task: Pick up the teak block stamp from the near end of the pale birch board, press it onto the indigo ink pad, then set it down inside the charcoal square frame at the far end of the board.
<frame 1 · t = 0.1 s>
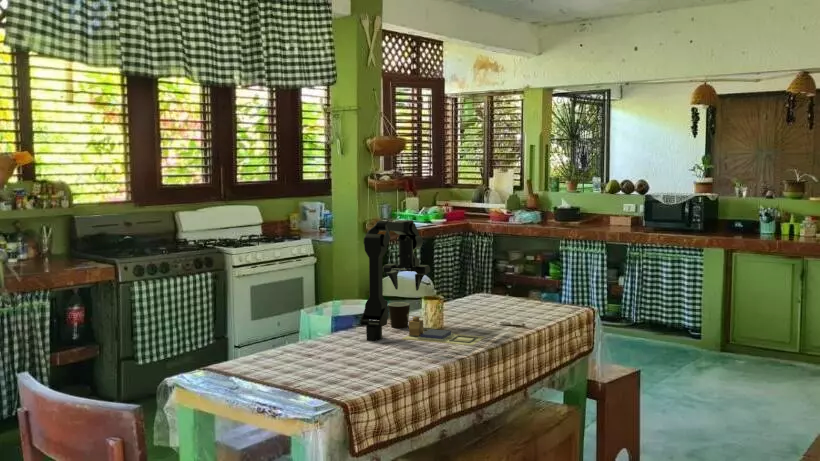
hand: (406, 289, 305), 15 cm above the table, fingers open, 9 cm apart
station board: (443, 340, 280), on the table
stamp: (416, 335, 285), point 1 cm above the table, touching station board
ink pad: (435, 337, 282), resting on station board
coffee mug: (402, 328, 302), on the table
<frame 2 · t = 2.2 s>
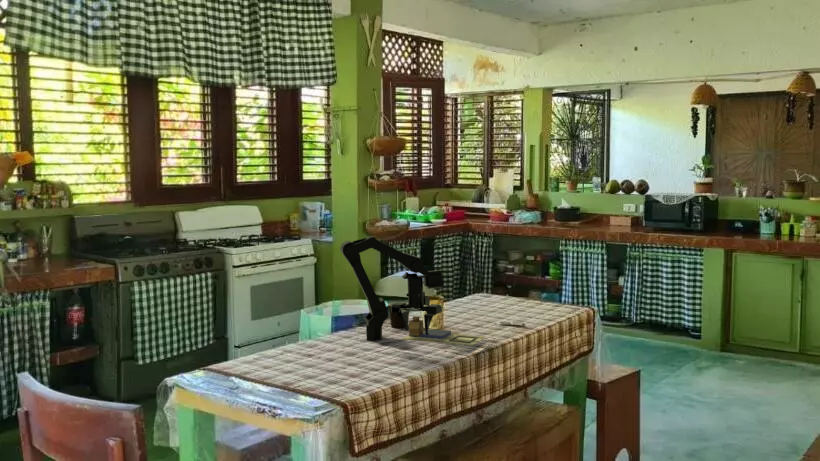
hand: (417, 331, 285), 3 cm above the table, fingers open, 8 cm apart
nothing on the table moved.
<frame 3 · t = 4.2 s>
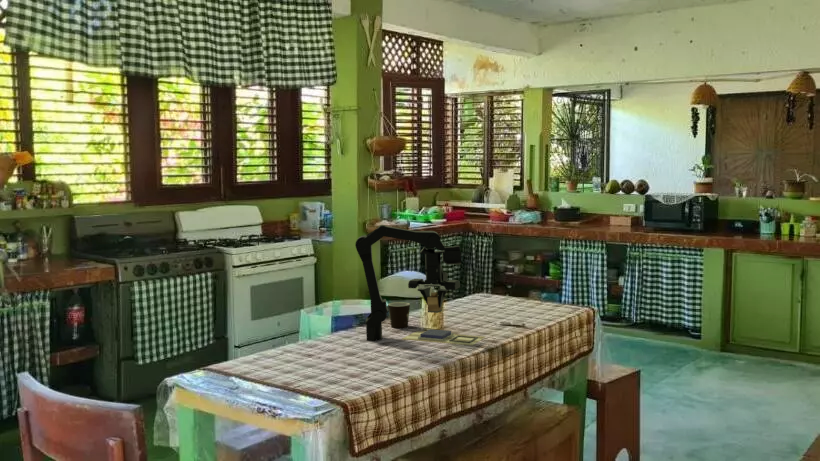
hand: (434, 307, 281), 12 cm above the table, fingers closed on stamp, 4 cm apart
stamp: (434, 311, 281), point 11 cm above the table, touching gripper
everything else where it was.
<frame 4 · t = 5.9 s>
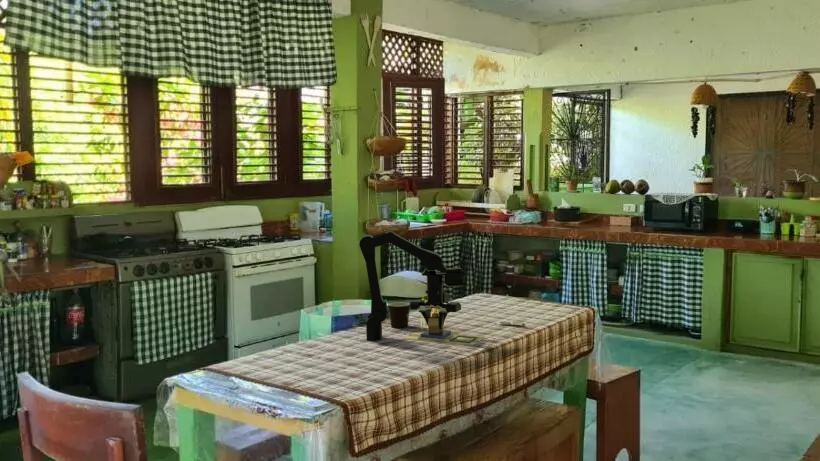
hand: (435, 328, 281), 4 cm above the table, fingers closed on stamp, 4 cm apart
stamp: (435, 332, 281), point 3 cm above the table, touching gripper, ink pad
everything else where it was.
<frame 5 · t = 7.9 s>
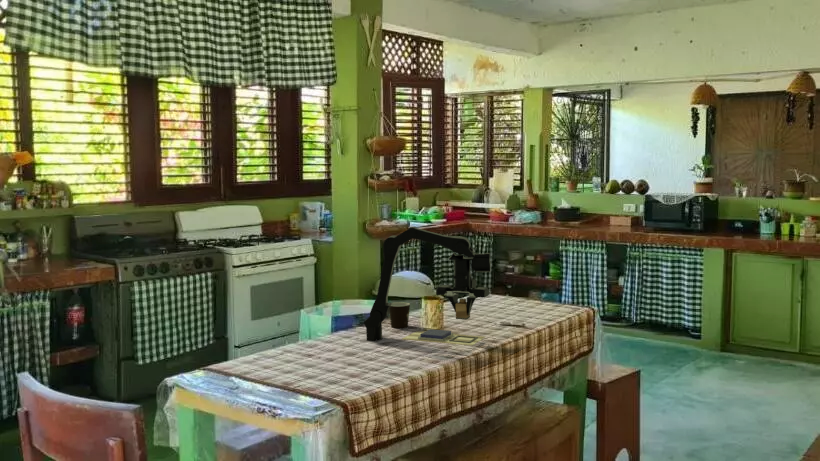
hand: (462, 314, 276), 10 cm above the table, fingers closed on stamp, 4 cm apart
stamp: (463, 318, 276), point 9 cm above the table, touching gripper
everything else where it was.
when the fingers open (3 cm above the table, at t = 9.4 s): stamp stays where it is, resting on station board.
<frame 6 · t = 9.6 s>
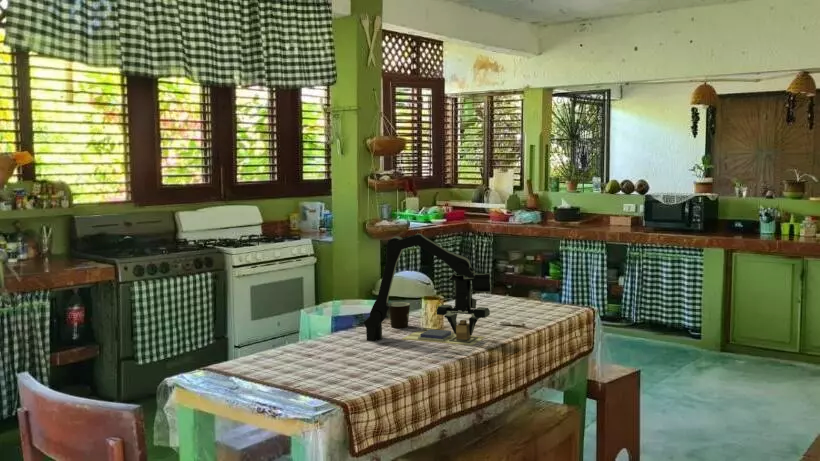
hand: (463, 334, 277), 3 cm above the table, fingers open, 6 cm apart
stamp: (463, 339, 277), point 1 cm above the table, touching station board
everything else where it was.
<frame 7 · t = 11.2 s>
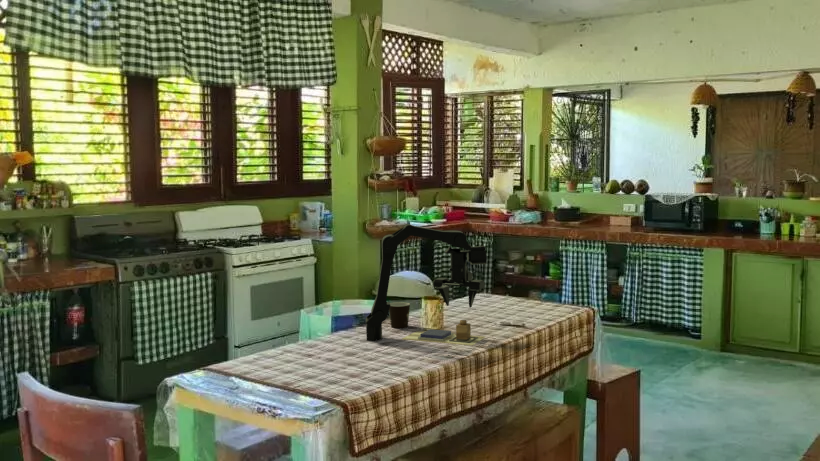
hand: (459, 306, 283), 12 cm above the table, fingers open, 9 cm apart
nothing on the table moved.
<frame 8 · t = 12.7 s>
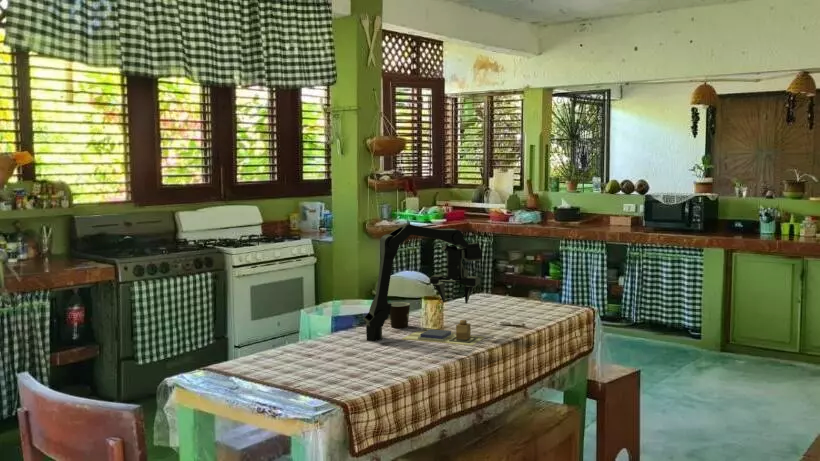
hand: (455, 302, 290), 12 cm above the table, fingers open, 9 cm apart
nothing on the table moved.
at the end: stamp 0.1 cm from the target spot on the station board, point 1.0 cm above the station board's base; stamp tilted 0°; the gripper is holding nothing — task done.
